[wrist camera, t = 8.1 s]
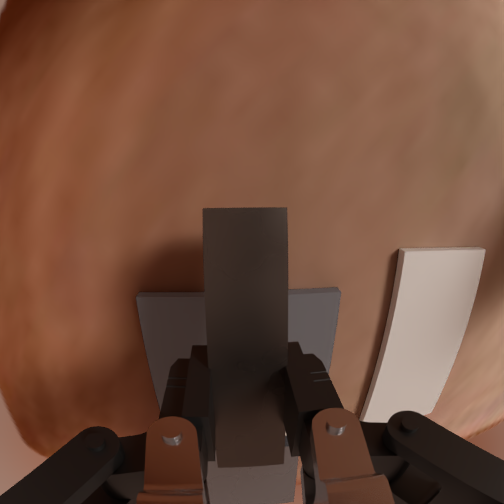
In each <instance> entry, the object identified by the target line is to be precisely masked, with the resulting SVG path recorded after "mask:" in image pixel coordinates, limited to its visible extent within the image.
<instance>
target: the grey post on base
mask: <svg viewBox="0 0 504 504" xmlns="http://www.w3.org/2000/svg"><path fill="white" fill-rule="evenodd" d="M203 263H204V294H205V317H206V336H207V353H208V368H209V369H211V380H212V393H213V406H214V417H215V461H208V474H207V481H208V488H209V495H210V502H211V504H279V503H287V502H294V493H295V485H296V475H297V464H298V456H295V457H291V454H290V449H289V445H288V440H287V436H285V432H286V431H285V427H284V408H285V369H286V366H287V365H288V228H287V208H203Z"/></svg>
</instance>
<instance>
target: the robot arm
mask: <svg viewBox="0 0 504 504" xmlns="http://www.w3.org/2000/svg"><path fill="white" fill-rule="evenodd" d="M284 427H285V431H286V436H287V440H288V445H289V449H290V454H291V457H295V456H300V457H301V461H302V468H301V484H302V495H303V504H504V460H501V459H500V458H498V457H496V456H494V455H492V454H490V453H488V452H487V451H484V450H483V449H481V448H479V447H477V446H475V445H474V444H472V443H470V442H468V441H466V440H465V439H463V438H461V437H459V436H458V435H456V434H454V433H452V432H451V431H449V430H447V429H445V428H444V427H442V426H440V425H438V424H437V423H435V422H433V421H432V420H430V419H428V418H427V417H425V416H423V415H422V414H420V413H417V412H414V411H408V410H407V411H400V412H397V413H395V414H393V415H392V416H391V417H390V419H389V420H388V422H387V423H380V422H364V421H360V420H359V419H358V418H357V416H356V415H355V414H353V413H352V412H350V411H348V410H345V409H344V408H343V405H342V403H341V401H340V399H339V397H338V394H337V392H336V390H335V388H334V386H333V384H332V381H331V380H330V377H329V375H328V373H327V372H326V368H325V366H324V364H323V362H322V361H321V360H320V359H319V358H318V357H317V356H315V355H314V354H313V353H311V354H303V352H302V349H301V347H300V344H299V342H298V341H296V342H288V365H287V366H286V369H285V408H284ZM208 461H215V417H214V406H213V393H212V380H211V369H209V368H208V353H207V345H192V349H191V356H190V359H187V358H178V359H177V360H176V361H175V363H174V364H173V365H172V366H171V367H170V371H169V376H168V380H167V384H166V389H165V393H164V398H163V402H162V407H161V411H160V416H159V419H158V420H156V421H155V422H153V423H152V424H151V425H150V427H149V428H148V430H147V432H145V433H143V434H140V435H134V436H127V437H120V438H118V436H117V435H116V434H115V432H113V431H112V430H110V429H108V428H105V427H99V426H97V427H90V428H87V429H85V430H83V431H82V432H80V433H79V434H78V435H77V436H75V437H74V438H73V439H72V440H70V441H69V442H68V443H67V444H66V445H64V446H63V447H62V448H61V449H59V450H58V451H57V452H56V453H54V454H53V455H52V456H51V457H49V458H48V459H47V460H46V461H44V462H43V463H42V464H41V465H40V466H38V467H37V468H36V469H34V470H33V471H32V472H31V473H29V474H28V475H27V476H25V477H24V478H23V479H22V480H20V481H19V482H18V483H16V484H15V485H14V486H13V487H11V488H10V489H9V490H7V491H6V492H5V493H3V494H2V495H1V496H0V504H211V502H210V495H209V488H208V481H207V474H208Z"/></svg>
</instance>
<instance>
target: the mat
mask: <svg viewBox="0 0 504 504" xmlns="http://www.w3.org/2000/svg"><path fill="white" fill-rule="evenodd" d="M340 297H341V291H340V290H339V289H338V288H337V287H332V288H312V289H290V290H288V342H296V341H298V342H299V344H300V347H301V349H302V352H303V354H311V353H313V354H314V355H315V356H317V357H318V358H319V359H320V360H321V361H322V362H323V364H324V366H325V368H326V372H327V373H328V374H329V369H330V363H331V357H332V352H333V345H334V339H335V333H336V326H337V319H338V312H339V305H340ZM136 301H137V307H138V313H139V319H140V324H141V330H142V335H143V340H144V345H145V350H146V355H147V359H148V364H149V368H150V372H151V377H152V381H153V385H154V389H155V393H156V397H157V400H158V404H159V408H160V411H161V407H162V402H163V398H164V393H165V389H166V384H167V380H168V376H169V371H170V367H171V366H172V365H173V364H174V363H175V361H176V360H177V359H178V358H187V359H190V356H191V349H192V345H207V336H206V317H205V294H204V292H139V293H138V295H137V296H136Z"/></svg>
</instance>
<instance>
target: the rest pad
mask: <svg viewBox="0 0 504 504" xmlns="http://www.w3.org/2000/svg"><path fill="white" fill-rule="evenodd" d="M485 251H486V249H483V248H481V247H450V248H399V255H398V262H397V269H396V275H395V281H394V287H393V293H392V298H391V303H390V308H389V313H388V318H387V323H386V327H385V332H384V336H383V340H382V344H381V348H380V352H379V356H378V360H377V363H376V367H375V371H374V374H373V378H372V381H371V384H370V388H369V391H368V394H367V397H366V400H365V404H364V407H363V410H362V413H361V415H360V418H359V420H360V421H364V422H380V423H387V422H388V420H389V419H390V417H391V416H392V415H393V414H395V413H397V412H400V411H407V410H408V411H414V412H417V413H420V414H422V415H426V414H429V413H431V412H432V410H433V408H434V406H435V404H436V402H437V400H438V398H439V396H440V394H441V392H442V390H443V387H444V385H445V383H446V381H447V378H448V376H449V373H450V371H451V369H452V366H453V364H454V361H455V358H456V356H457V353H458V350H459V348H460V345H461V342H462V339H463V336H464V333H465V330H466V327H467V324H468V321H469V318H470V314H471V311H472V307H473V304H474V300H475V296H476V292H477V288H478V284H479V280H480V276H481V271H482V266H483V261H484V256H485Z"/></svg>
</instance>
